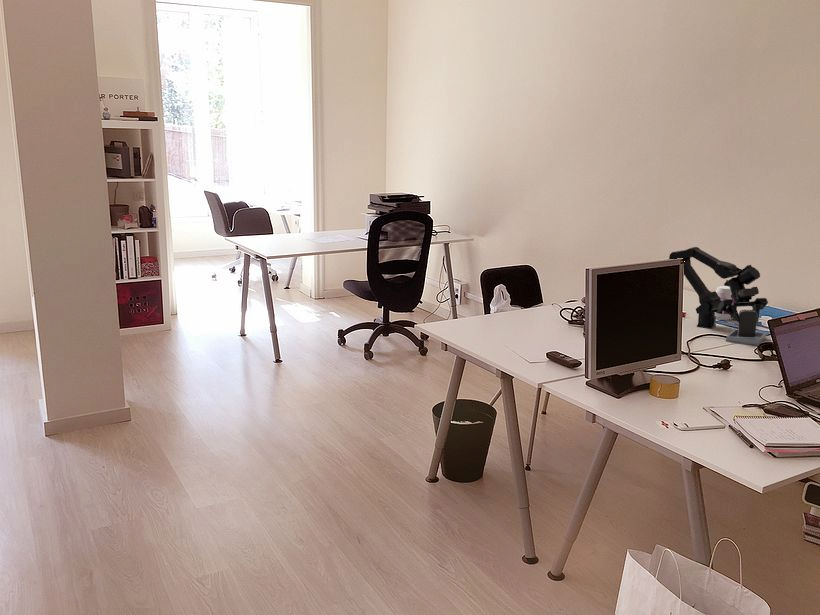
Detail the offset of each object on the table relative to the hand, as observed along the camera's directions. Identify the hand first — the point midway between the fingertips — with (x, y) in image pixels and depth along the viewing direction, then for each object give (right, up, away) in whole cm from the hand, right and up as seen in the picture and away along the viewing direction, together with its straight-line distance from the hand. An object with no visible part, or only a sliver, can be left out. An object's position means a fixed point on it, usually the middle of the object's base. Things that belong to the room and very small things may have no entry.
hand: (748, 322), depth 288 cm
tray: (0, -8, +3) cm, 8 cm away
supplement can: (+6, +1, +36) cm, 37 cm away
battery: (0, -6, +3) cm, 7 cm away
